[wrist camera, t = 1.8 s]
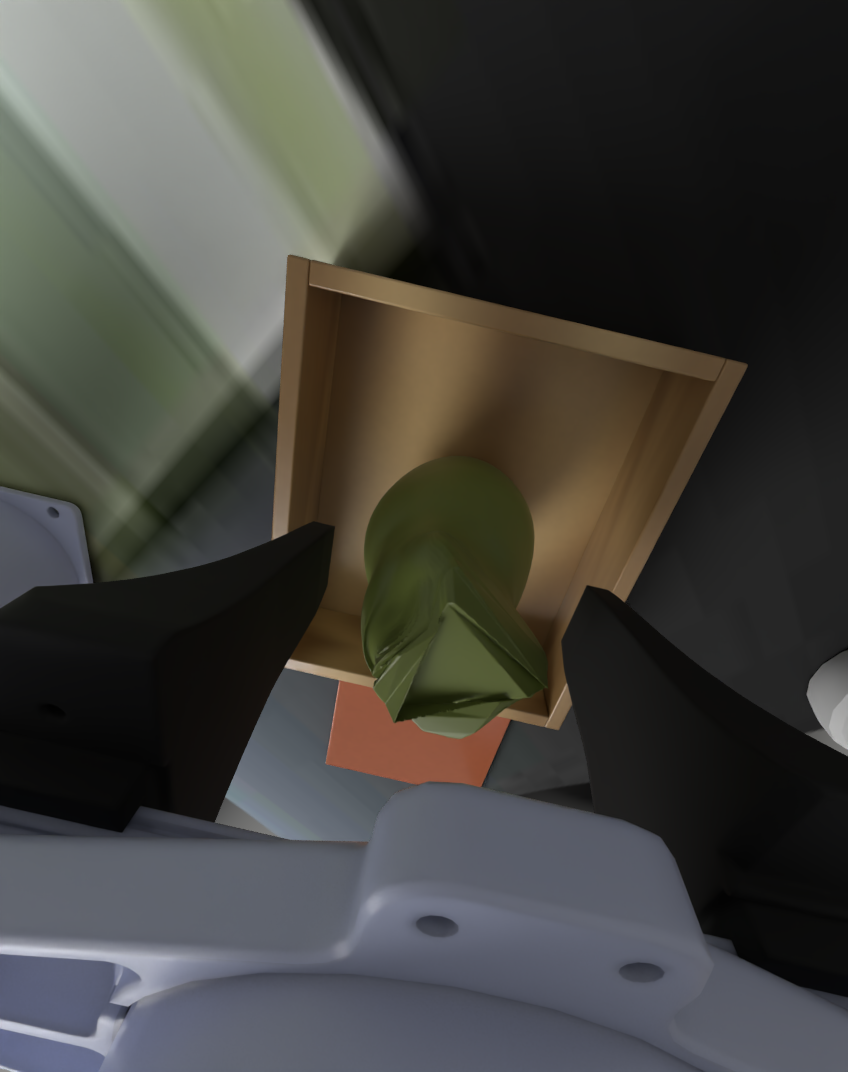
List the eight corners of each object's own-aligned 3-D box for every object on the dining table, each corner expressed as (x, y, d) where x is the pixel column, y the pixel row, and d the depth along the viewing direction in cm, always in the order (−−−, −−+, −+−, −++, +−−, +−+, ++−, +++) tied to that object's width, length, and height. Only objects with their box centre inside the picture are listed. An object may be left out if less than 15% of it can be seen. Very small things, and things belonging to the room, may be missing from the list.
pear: (362, 490, 18) (251, 669, 9) (468, 407, 16) (467, 525, 7) (446, 586, 19) (426, 818, 10) (552, 521, 17) (637, 734, 9)
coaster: (327, 758, 26) (325, 764, 25) (346, 642, 22) (344, 647, 21) (476, 791, 26) (476, 798, 25) (523, 682, 22) (524, 688, 21)
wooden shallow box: (297, 607, 21) (264, 663, 18) (329, 268, 15) (286, 253, 11) (544, 664, 21) (559, 730, 18) (685, 353, 15) (750, 364, 11)
